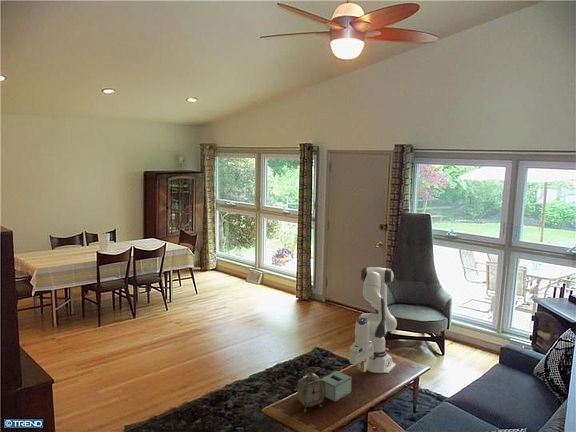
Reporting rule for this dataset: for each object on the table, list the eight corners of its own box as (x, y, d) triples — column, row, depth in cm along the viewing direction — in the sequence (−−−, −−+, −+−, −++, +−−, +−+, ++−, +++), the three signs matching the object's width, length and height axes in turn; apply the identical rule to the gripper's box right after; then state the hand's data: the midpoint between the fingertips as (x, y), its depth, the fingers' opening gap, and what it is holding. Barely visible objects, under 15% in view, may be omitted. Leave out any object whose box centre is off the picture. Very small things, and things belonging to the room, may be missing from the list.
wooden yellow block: (359, 368, 281) (359, 359, 280) (366, 370, 277) (366, 361, 276) (357, 369, 279) (357, 360, 278) (363, 372, 275) (364, 362, 275)
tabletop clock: (303, 414, 258) (303, 372, 255) (295, 407, 266) (295, 366, 263) (324, 407, 265) (325, 367, 262) (316, 400, 273) (316, 361, 270)
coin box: (336, 385, 291) (336, 370, 290) (351, 392, 283) (351, 377, 282) (319, 394, 280) (320, 379, 279) (334, 401, 272) (334, 386, 271)
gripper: (368, 338, 285) (367, 359, 287) (347, 348, 271) (347, 370, 273) (376, 341, 281) (376, 362, 283) (356, 351, 267) (355, 373, 269)
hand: (361, 366), depth 278 cm, fingers closed on wooden yellow block, 2 cm apart
